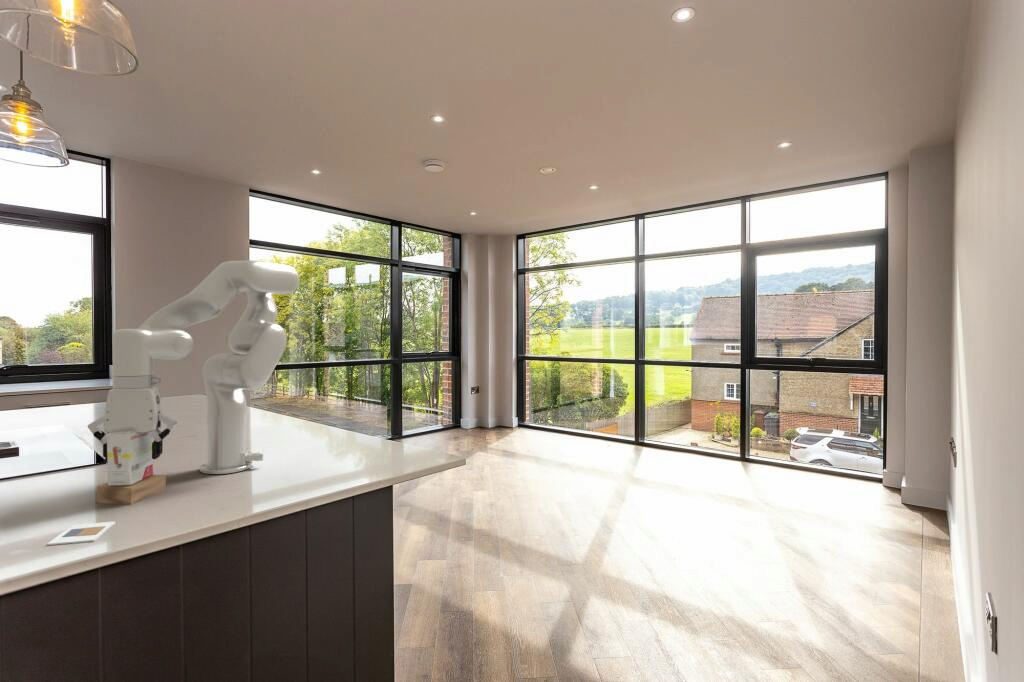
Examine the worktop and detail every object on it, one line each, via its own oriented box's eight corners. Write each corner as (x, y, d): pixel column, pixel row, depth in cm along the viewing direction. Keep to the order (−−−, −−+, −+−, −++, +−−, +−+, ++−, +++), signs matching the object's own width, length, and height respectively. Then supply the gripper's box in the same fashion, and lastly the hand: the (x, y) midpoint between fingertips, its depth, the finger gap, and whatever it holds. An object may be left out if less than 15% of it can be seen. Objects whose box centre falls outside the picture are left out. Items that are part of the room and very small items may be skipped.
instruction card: (115, 522, 101) (115, 521, 101) (94, 541, 93) (94, 539, 93) (72, 526, 99) (72, 524, 99) (46, 545, 91) (46, 543, 91)
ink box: (132, 475, 121) (131, 425, 121) (154, 474, 122) (153, 425, 121) (106, 486, 113) (105, 432, 112) (129, 485, 113) (128, 432, 113)
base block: (165, 491, 122) (165, 475, 122) (131, 506, 112) (131, 488, 112) (133, 490, 123) (133, 473, 122) (97, 504, 113) (96, 486, 112)
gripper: (182, 380, 123) (182, 453, 123) (95, 381, 117) (95, 457, 118) (172, 384, 116) (171, 460, 116) (79, 385, 110) (79, 465, 111)
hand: (133, 458), depth 117 cm, fingers open, 8 cm apart
